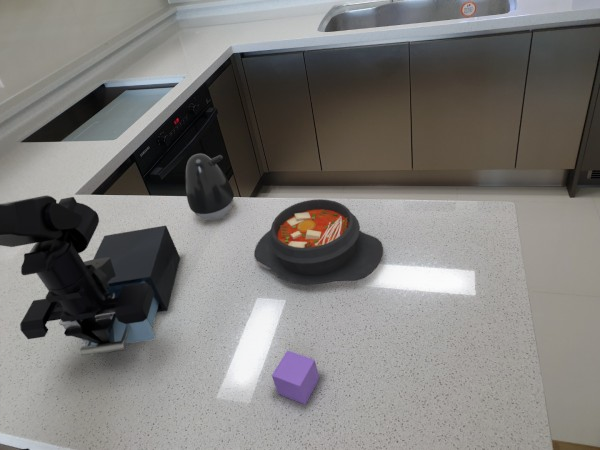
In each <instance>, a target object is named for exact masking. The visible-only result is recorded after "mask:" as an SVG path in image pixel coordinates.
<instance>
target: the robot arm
mask: <svg viewBox="0 0 600 450" xmlns="http://www.w3.org/2000/svg"><path fill="white" fill-rule="evenodd" d="M99 223H100V217H99V214H98V213H97V211H96V210H94V209H93V208H92V207H90V206H89V205H86V204H85V203H82V202H77V199H76V198H75V197H74V196H69V197H65V198H60V200H59V201H58V202H57V199H56V198H54V197H53V196H51V195H41V196H35V197H31V198H30V197H29V198H25V199H19V200H13V201H9V202H8V201H7V202H3V203H0V246H3V247H9V248H15V247H21V246H27V245H32V244H34V245H33V246H32V248H31V249H30V251H29V252H27V253H24V254H23V261H22V264H21V267H20V273H21V275H22V276H29V275H34V274H36V275H37V276H38V278H39V279H40V281H41V282H42V284H43V285H44V286H45V288H46V289H47V291H48V292H47V294H46V296H45V298H41V299H40V298H39V299H34V300H33V301H32V303H31V304H30V305H29V307H28V309H27V311H26V313H25V315H23V318H22V320H21V321H20V323H19V326H20V327H19V328H20V329H19V330H20V331H21V333H22V334H23V335H24V337H26V339H27V340H34V339H39V338H40V339H41V338H45V337H46V335H47V334H48V331H49V328H48V327H47V323H48V322H53V321H59V323H58V324H59V325H60V326H62V327H63V328H64V333H63V335H65V337H74V338H77V339H81V340H82V339H84V340H87V341H90V342H93V343H96V344H104V343H110V342H115V340H114V329H113V324H114V322H115V319H116V318H117V320H118V321H119V322H122V323H124V324H130V323H137V322H143V321H144V320H145V319H147V318H148V314H149V311H150V307H151V304H152V300H153V297H154V291H153V289H152V287H151V286H150V285H149V284H148V283H140V284H134V285H127V286H123V287H122V290H121V292H120V295H119V297H118V298H115V294H114V293H110V294H104V293H107V292H108V290H109V288H110V286H109V285H108V283H107V282H109V280H110V279H111V278H112V277H115V276H116V275H115V272H114V269H113V265H112V262H111V259H110V258H109V257H106V258H100V259H94V258H93V259H94V260H93V259H89V260H85V261H84V260H83V259H82V257H81V256H80V254H81V253H83V252H84V251H86V249H88V247H89V244H90V242H91V240H92V237H93V236H94V234H95V232H96V230H97V228H98V226H99ZM20 450H31V449H30V448H22V449H20Z"/></svg>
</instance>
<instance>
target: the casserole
mask: <svg viewBox="0 0 600 450" xmlns="http://www.w3.org/2000/svg"><path fill="white" fill-rule="evenodd" d="M360 229H361V226H360V222H359V220H358V218H357V216H356V215H355V214H353V213H352V212H351V210H350V209H349V208H348V207H347V206H346V205H344V204H342V203H341V202H338V201H335V200H332V199H324V198H323V199H322V198H321V199H320V198H319V199H309V200H304V201H299V202H297V203H294V204H292V205H290V206H288V207H287V208H285V209H283V210H282V211H281V212H279V213H278V215H276V217H275V218H274V219H273V221H272V223H271V227H270V229H269V231H267V232H266V233H264V234H263V236H262V237H260V239H259V241H258V242H257V244H256V245H255V248H254V253H253V256H254V258H255V260H256V262H258V263H260V264H261V265H263V266H265V267H267V268H268V269H270V271H272V272H273V273H274V274H275V275H276V276H278V278H280V279H283V280H284V281H285V282H289V283H291V284H295V285H302V286H317V285H323V284H330V283H336V282H358V281H361V280H363V279H366V278H367V277H368V276H370V275H371V274H372V273H373V272H374V271H376V269H377V268H378V266H379V264H380V263H381V262H382V259H383V255H384V246H383V243H382V241H381V240H380V239H379V238H377V237H375V236H373V235H370V234H368V233H365V232H363V231H361V230H360Z"/></svg>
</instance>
